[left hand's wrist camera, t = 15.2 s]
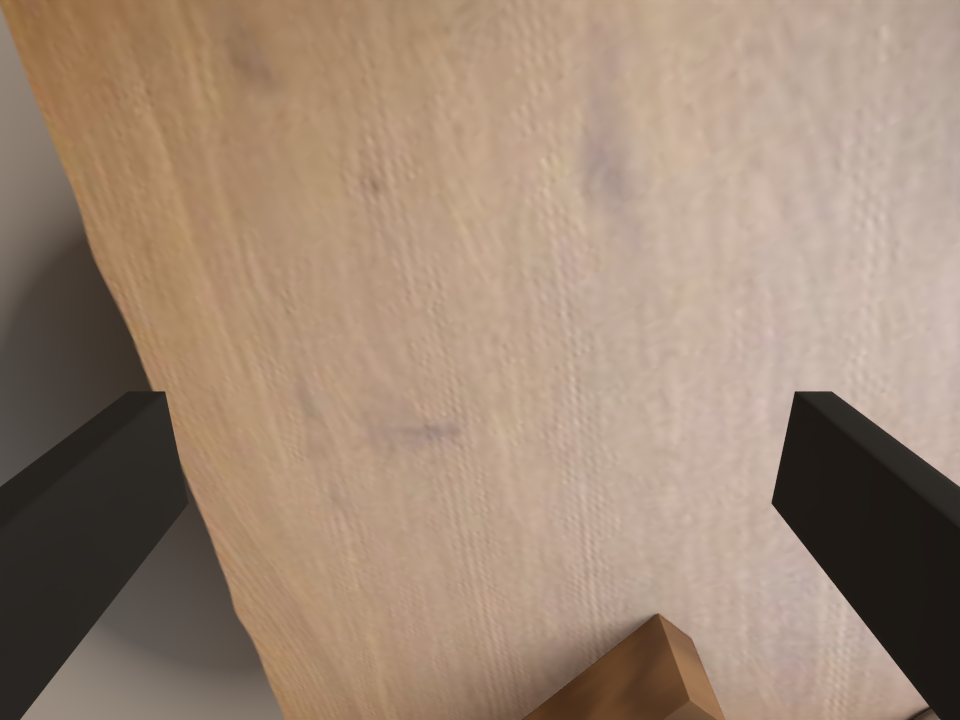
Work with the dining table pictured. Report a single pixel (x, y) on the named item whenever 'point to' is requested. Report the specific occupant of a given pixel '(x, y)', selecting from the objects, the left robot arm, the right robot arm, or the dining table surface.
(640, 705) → the bar
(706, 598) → the dining table surface
